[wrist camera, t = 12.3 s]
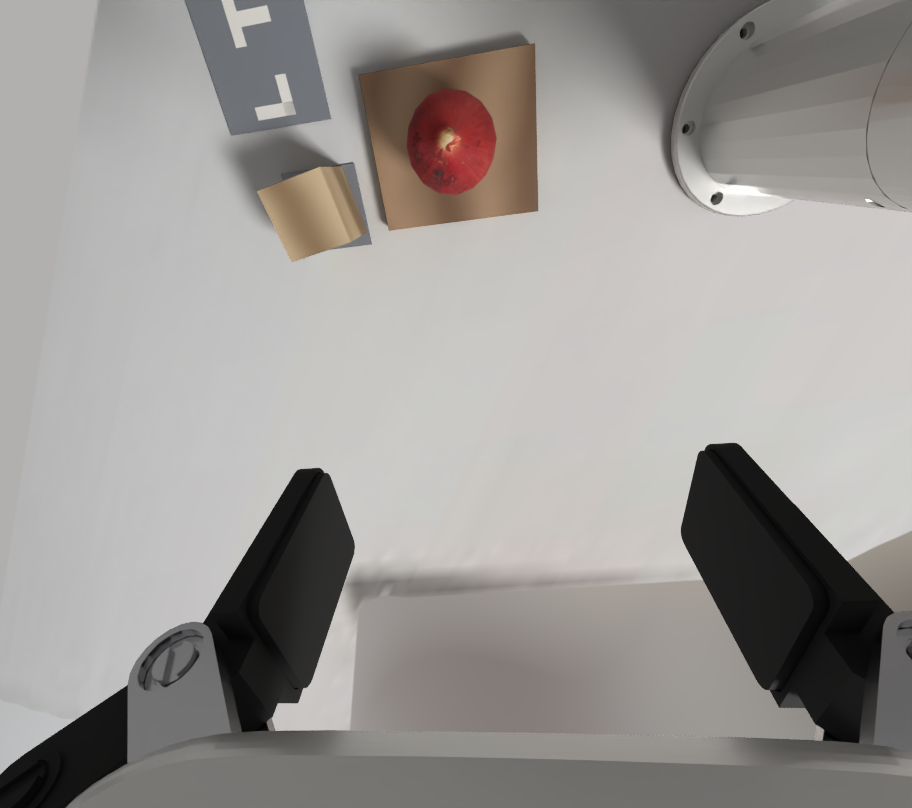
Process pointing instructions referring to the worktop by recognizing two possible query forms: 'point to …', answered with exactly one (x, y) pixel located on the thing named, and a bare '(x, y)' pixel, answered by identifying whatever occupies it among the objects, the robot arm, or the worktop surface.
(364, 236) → the code tile
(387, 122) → the board
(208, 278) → the worktop surface
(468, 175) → the onion
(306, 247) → the oak block
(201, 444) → the worktop surface
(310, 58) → the tile
